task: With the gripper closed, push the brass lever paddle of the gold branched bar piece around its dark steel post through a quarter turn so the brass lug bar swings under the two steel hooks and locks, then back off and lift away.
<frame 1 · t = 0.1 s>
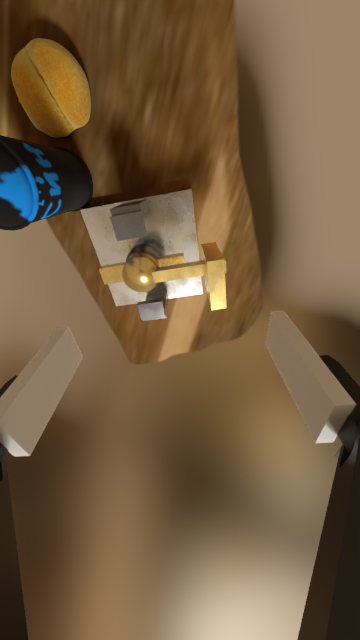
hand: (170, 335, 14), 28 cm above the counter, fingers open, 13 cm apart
bread roll: (58, 97, 28), on the counter
aerosol can: (66, 181, 33), on the counter
socket base: (149, 254, 39), on the counter
gold branched bar piece: (158, 277, 29), point 12 cm above the counter, hinge at 0.0°
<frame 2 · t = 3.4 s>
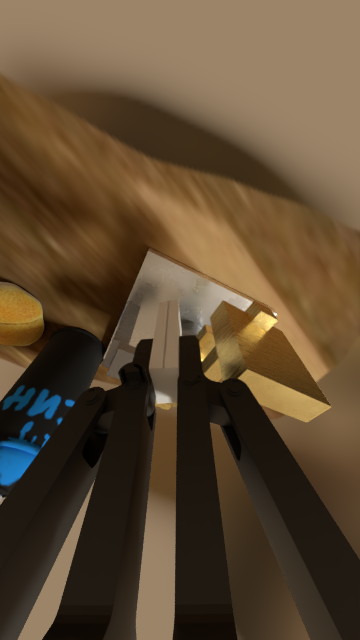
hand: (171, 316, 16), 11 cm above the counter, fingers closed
bread roll: (17, 310, 29), on the counter
aerosol can: (78, 347, 33), on the counter
socket base: (183, 332, 31), on the counter
gold branched bar piece: (200, 391, 19), point 12 cm above the counter, hinge at -2.6°, touching gripper
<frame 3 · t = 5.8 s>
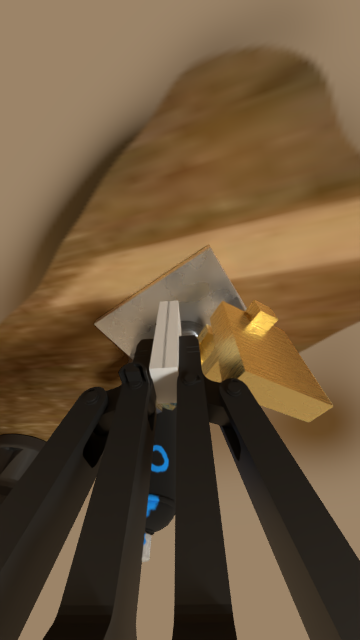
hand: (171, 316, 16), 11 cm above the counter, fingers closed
aerosol can: (157, 398, 40), on the counter
socket base: (186, 333, 31), on the counter
gold branched bar piece: (202, 391, 19), point 12 cm above the counter, hinge at -61.8°, touching gripper
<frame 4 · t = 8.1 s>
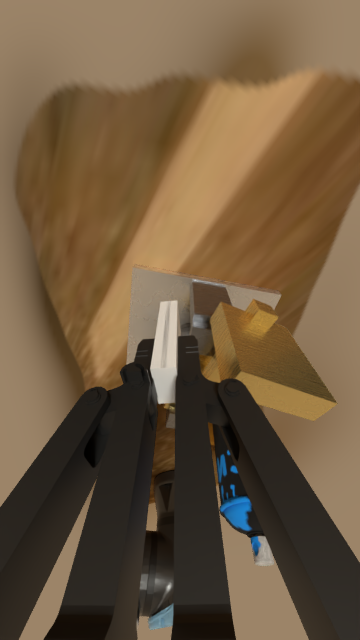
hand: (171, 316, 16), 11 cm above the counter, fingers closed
aerosol can: (230, 398, 39), on the counter
socket base: (192, 334, 31), on the counter
gold branched bar piece: (208, 393, 19), point 12 cm above the counter, hinge at -102.5°, touching gripper
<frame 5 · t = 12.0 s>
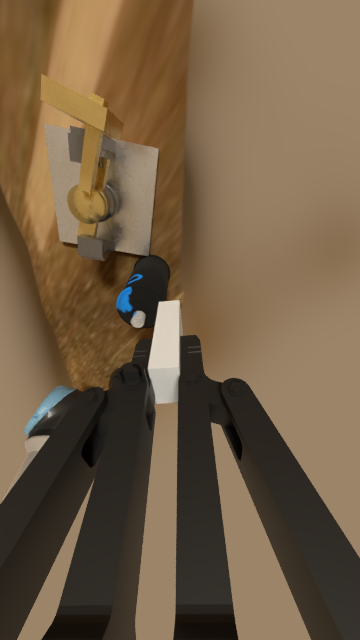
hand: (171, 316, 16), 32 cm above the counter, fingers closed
aerosol can: (152, 272, 48), on the counter
socket base: (105, 199, 40), on the counter
gold branched bar piece: (84, 185, 29), point 12 cm above the counter, hinge at -102.4°
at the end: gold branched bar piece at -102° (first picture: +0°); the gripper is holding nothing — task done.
